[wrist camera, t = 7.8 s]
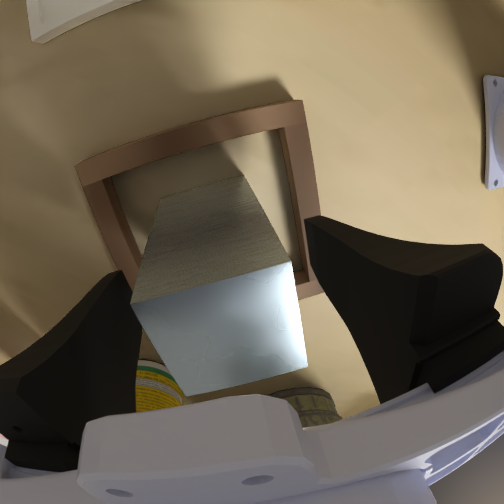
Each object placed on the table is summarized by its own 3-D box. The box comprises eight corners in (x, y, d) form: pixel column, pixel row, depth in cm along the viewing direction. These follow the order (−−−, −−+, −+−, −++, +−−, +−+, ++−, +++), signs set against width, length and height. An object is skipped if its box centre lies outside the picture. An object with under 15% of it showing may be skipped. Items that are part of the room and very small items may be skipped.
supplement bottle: (179, 405, 22) (186, 518, 13) (112, 396, 20) (101, 509, 12) (186, 361, 19) (194, 499, 11) (107, 351, 18) (84, 486, 10)
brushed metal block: (243, 175, 14) (291, 261, 7) (261, 248, 16) (307, 366, 9) (161, 198, 14) (130, 304, 7) (186, 268, 16) (186, 396, 9)
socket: (294, 99, 13) (302, 100, 12) (321, 279, 18) (328, 290, 17) (84, 160, 12) (74, 166, 11) (155, 323, 17) (154, 337, 16)
